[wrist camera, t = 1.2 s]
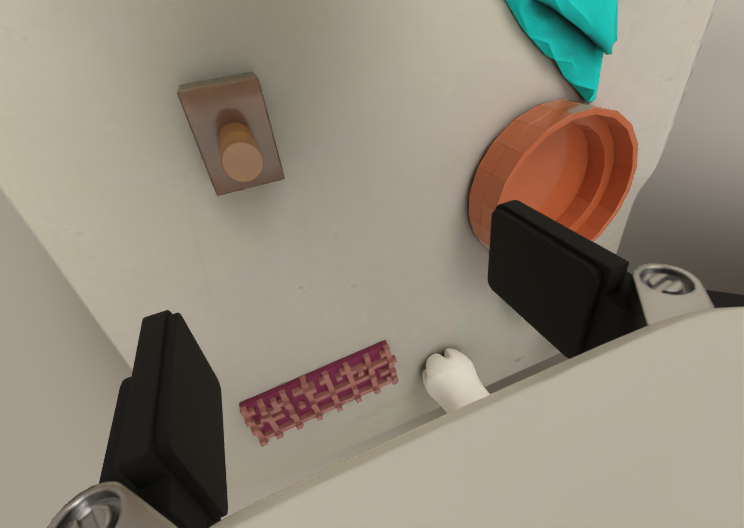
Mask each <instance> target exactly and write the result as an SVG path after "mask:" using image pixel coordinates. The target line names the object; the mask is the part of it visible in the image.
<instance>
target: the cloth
mask: <svg viewBox="0 0 744 528" xmlns="http://www.w3.org/2000/svg"><path fill="white" fill-rule="evenodd" d="M506 2H507V4H508V5H509V7H510V9H511V10H512V12H513V14H514V16H515V17H516V19H517V21H518V22H519V24H520V26H521V27H522V29H523V30H524V31H525V32H526V33H527V35H528V36H529V37H530V38H531V39H532V40H533V41H534V43H535V44H536V45H537V46H538V47H539V48H540V49H541V50H542V52H543V53H544V54H545V55H546V56H547V57H550V58H552V59H554V60H555V61H556V63H557V65H558V66H559V68H560V70H561V72H562V74H563V76H564V77H565V78H566V79H567V80H568V81H569V82H570V84H571V85H572V86H573V87H574V88H575V89H576V90H577V91H578V92H579V93H580V94H581V95H582V96H583V98H584V99H585V100H586V101H587V103H589V102H592V101H594V100H595V98H596V93H597V88H598V83H599V77H600V70H601V63H602V57H603V52H604V53H605V54H606V55H608V54H612V46H613V44H614V43H615V42H616V41H617V11H618V0H506Z"/></svg>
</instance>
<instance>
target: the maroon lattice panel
mask: <svg viewBox="0 0 744 528" xmlns="http://www.w3.org/2000/svg"><path fill="white" fill-rule="evenodd" d="M395 362H397V361H396V358H395V356H394V355H393V356H391V352H390V348H389V346H388V344H387V343H386V341H382V342H380V343H378V344H375V345H373V346H371V347H368V348H366V349H364V350H361V351H359V352H357V353H354V354H352V355H350V356H348V357H345V358H343V359H341V360H338V361H336V362H334V363H331V364H329V365H327V366H324V367H322V368H320V369H317V370H315V371H313V372H311V373H308V374H306V375H304V376H301V377H299V378H297V379H294V380H292V381H290V382H287V383H285V384H283V385H280V386H278V387H276V388H274V389H271V390H269V391H267V392H264V393H262V394H260V395H257V396H255V397H253V398H250V399H248V400H246V401H243V402H241V403H239V404H240V413H241V414H242V416H243V417H244V418H245V424H246V425H247V427H248V426H250V427H251V429H252V434H253V435H257V437H258V438H259V440H260V445H261V446H265V445H267V443H268V439H269V438H271V437H273V436H275V435H276V438H277V439H280V438H282V437H283V435H284V434H283V432H284V431H286V430H289V429H291V428H293V427H295V426H296V427H297V429H298V430H300V429H302V428H303V426H304V425H303V423H304V422H306V421H308V420H310V419H313V418H315V417H317V419H318V421H319V420H321V419H323V415H322V414H324V413H326V412H328V411H330V410H332V409H335V408H337V411H338V412H339V411H341V410H343V409H342V406H341V405H343V404H345V403H348V402H350V401H352V400H354V399H356V401H357V403H358V402H360V401H362V399H361V396H363V395H365V394H367V393H370V392H372V391H374V392H375V393H376V394H378V393H380V392H381V391H380V388H381V387H383V386H385V385H387V384H389V383H393V385H394V384H397V383H398V377H397V372H396V370H395V368H394V365H395V364H394V363H395Z"/></svg>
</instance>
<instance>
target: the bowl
mask: <svg viewBox="0 0 744 528" xmlns="http://www.w3.org/2000/svg"><path fill="white" fill-rule="evenodd" d="M637 154H638V142H637V139H636V136H635V133H634V130H633V126H632V124H631V123H630V122H629V121H628V120H627V119H626V118H625V117H623V116H622V115H621V114H620V113H619V112H618V111H615V110H610V109H606V108H602V107H597V106H593V105H589V104H584V103H580V102H575V101H570V100H564V99H559V100H555V101H551V102H547V103H543V104H539V105H537V106H535V107H533V108H532V109H530V110H529V111H527V112H525V113H524V114H522V115H520V116H519V117H517V118H516V119H515V120H513V121H512V122H511V123H510V124H509V125H508V127H507V128H506V129H505V130H504V131H503V132H502V133H501V134H500V135H499V136H498V137H497V138H496V139H495V140H494V142H493V143H492V144H491V146H490V148H489V149H488V151H487V153H486V154H485V156H484V158H483V159H482V161H481V163H480V164H479V166H478V168H477V171H476V174H475V178H474V181H473V184H472V187H471V190H470V196H469V219H470V222H471V225H472V228H473V232H474V235H475V236H476V237H477V238H478V239H479V241H480V242H481V243H482V244H483V245H484V246H485V247H486V248H487V249H488V250H489V249H490V232H491V216H492V213H493V211H495V208H496V206H497V205H499V204H502V203H505V202H508V201H511V200H518V201H520V202H522V203H524V204H526V205H527V206H529V207H531V208H533V209H535V210H536V211H538V212H540V213H542V214H544V215H545V216H547V217H549V218H551V219H553V220H554V221H556V222H558V223H560V224H562V225H563V226H565V227H567V228H569V229H571V230H572V231H574V232H576V233H578V234H580V235H581V236H583V237H585V238H587V239H589V240H590V241H592V242H593V241H595V240H596V239H597V238H598V237H599V236H600V235H601V234H602V232H603V231H604V230H605V229H606V227H607V226H608V225H609V223H610V222H611V221H612V220H613V218H614V217H615V216H616V214H617V213H618V211H619V209H620V207H621V205H622V203H623V202H624V200H625V198H626V196H627V194H628V192H629V190H630V187H631V184H632V180H633V177H634V174H635V171H636V167H637Z"/></svg>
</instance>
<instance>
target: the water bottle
mask: <svg viewBox="0 0 744 528" xmlns="http://www.w3.org/2000/svg"><path fill="white" fill-rule="evenodd" d="M422 378H423V383H424V386H425V388H426V390H427V392H428V394H429V395H430V396H431V397H432V398H433V399H434V400H435V401H437V402H438V403H439V404H440V406H441V407H442V408H443V409H444V410H445V411H446V412H447V414H448V413H450V412H452V411H454V410H457V409H459V408H461V407H463V406H466V405H468V404H470V403H472V402H474V401H477V400H479V399H481V398H483V397H486V396H488V395H490V394H489V393H488V391H487V390H486V389H485V387H484V386H483V384H482V383H481V381H480V380H479V378H478V376H477V374H476V371H475V369H474V365H473V363H472V362H471V361H470V360H469V359H468V358H467V357H466V356H465V355H464V354H462V353H461V352H459V351H457V350H454V349H450V348H448V349H445V352H444V357H443V356H441V355H439V354H437V353H435V354H432V355H431V356H430V357H429V358H428V359H427V361H426V369H424V370H423V373H422Z"/></svg>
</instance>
